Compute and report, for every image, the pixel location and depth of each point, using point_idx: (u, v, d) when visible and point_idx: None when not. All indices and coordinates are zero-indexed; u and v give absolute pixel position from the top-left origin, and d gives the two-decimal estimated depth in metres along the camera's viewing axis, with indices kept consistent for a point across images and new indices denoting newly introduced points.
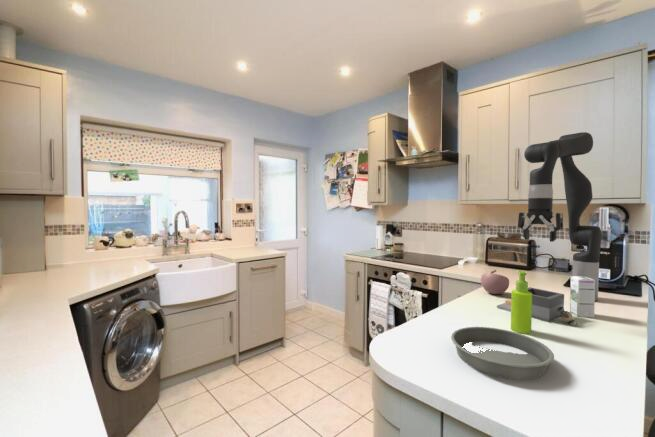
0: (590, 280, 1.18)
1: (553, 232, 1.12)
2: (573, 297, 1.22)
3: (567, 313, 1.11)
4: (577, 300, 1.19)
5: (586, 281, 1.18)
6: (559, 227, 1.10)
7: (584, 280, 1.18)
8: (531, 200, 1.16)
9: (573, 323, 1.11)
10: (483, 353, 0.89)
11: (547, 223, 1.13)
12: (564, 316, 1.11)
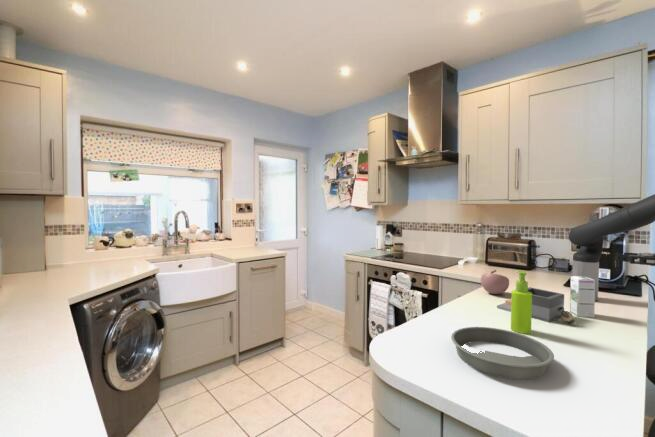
0: (590, 280, 1.18)
1: (637, 258, 1.11)
2: (573, 297, 1.22)
3: (567, 313, 1.11)
4: (577, 300, 1.19)
5: (586, 281, 1.18)
6: None
7: (584, 280, 1.18)
8: None
9: (573, 323, 1.10)
10: (483, 353, 0.89)
11: None
12: (564, 316, 1.11)
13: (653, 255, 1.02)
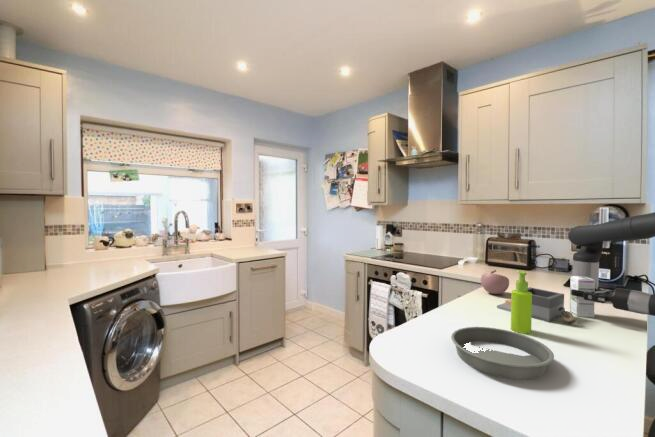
0: (590, 280, 1.18)
1: None
2: (573, 296, 1.22)
3: (568, 313, 1.11)
4: (577, 300, 1.19)
5: (586, 281, 1.18)
6: None
7: (584, 280, 1.18)
8: (626, 310, 1.09)
9: (574, 323, 1.10)
10: (483, 353, 0.89)
11: None
12: (565, 316, 1.11)
13: (604, 292, 1.14)
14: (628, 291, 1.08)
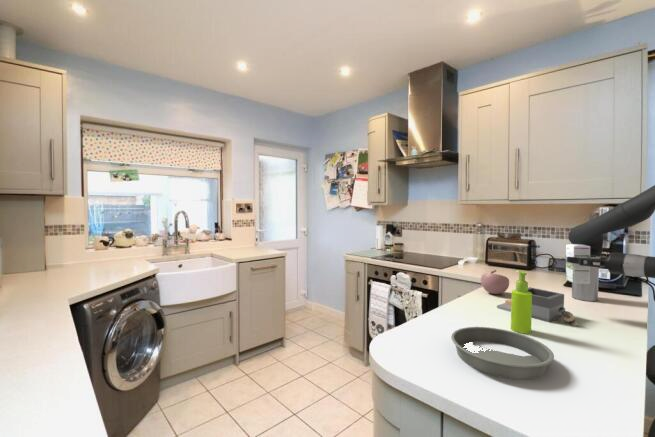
0: (585, 246, 1.17)
1: None
2: (569, 264, 1.21)
3: (568, 313, 1.11)
4: (573, 267, 1.18)
5: (581, 247, 1.17)
6: None
7: (579, 247, 1.18)
8: (622, 274, 1.08)
9: (574, 323, 1.10)
10: (483, 353, 0.89)
11: None
12: (565, 316, 1.11)
13: (599, 258, 1.13)
14: (623, 254, 1.08)
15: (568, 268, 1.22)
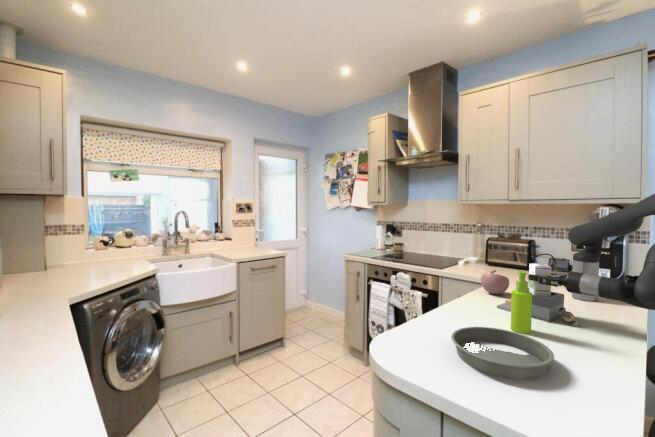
0: (546, 267, 1.18)
1: None
2: (531, 284, 1.21)
3: (569, 313, 1.10)
4: (534, 287, 1.19)
5: (542, 268, 1.18)
6: None
7: (540, 267, 1.18)
8: (579, 293, 1.09)
9: (575, 323, 1.10)
10: (483, 353, 0.89)
11: None
12: (566, 317, 1.10)
13: (558, 276, 1.14)
14: (580, 274, 1.08)
15: (530, 287, 1.22)
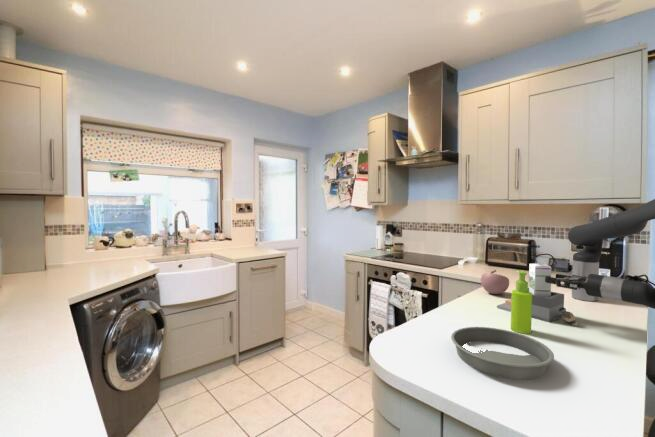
0: (546, 267, 1.18)
1: None
2: (531, 284, 1.21)
3: (569, 314, 1.10)
4: (534, 287, 1.19)
5: (542, 268, 1.18)
6: None
7: (540, 267, 1.18)
8: (599, 297, 1.04)
9: (575, 323, 1.10)
10: (483, 353, 0.89)
11: None
12: (566, 317, 1.10)
13: (577, 279, 1.09)
14: (601, 277, 1.04)
15: (530, 287, 1.22)
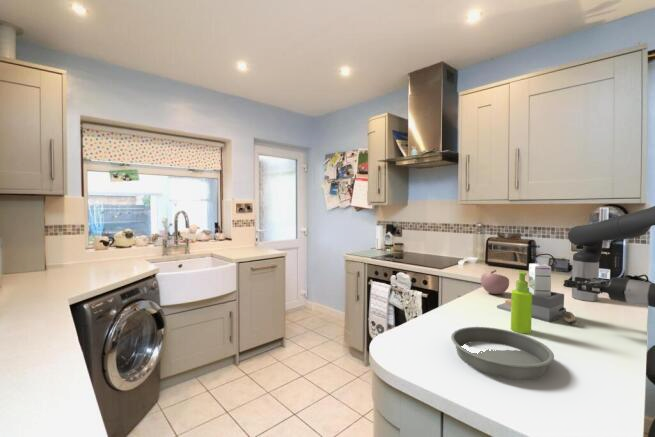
0: (546, 267, 1.18)
1: None
2: (531, 284, 1.21)
3: (569, 314, 1.10)
4: (534, 287, 1.19)
5: (542, 268, 1.18)
6: None
7: (540, 267, 1.18)
8: (623, 301, 0.99)
9: (575, 323, 1.10)
10: (483, 353, 0.89)
11: None
12: (566, 317, 1.10)
13: (599, 282, 1.04)
14: (625, 280, 0.98)
15: (530, 287, 1.22)
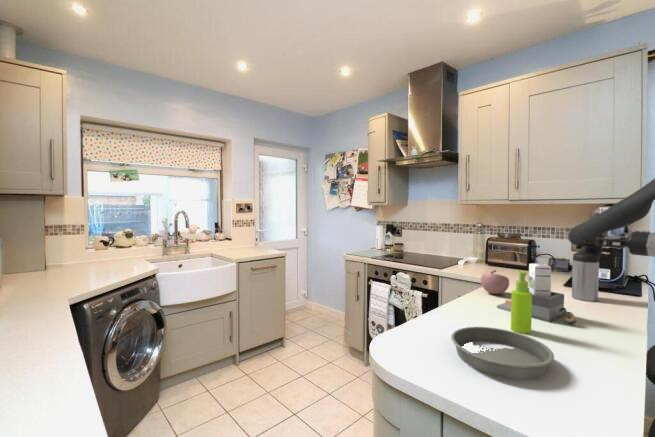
0: (546, 267, 1.18)
1: (605, 242, 1.11)
2: (531, 284, 1.21)
3: (569, 314, 1.10)
4: (534, 287, 1.19)
5: (542, 268, 1.18)
6: None
7: (540, 267, 1.18)
8: (644, 255, 0.98)
9: (575, 324, 1.10)
10: (483, 353, 0.89)
11: None
12: (567, 317, 1.10)
13: (619, 238, 1.03)
14: (647, 233, 0.98)
15: (530, 287, 1.22)
